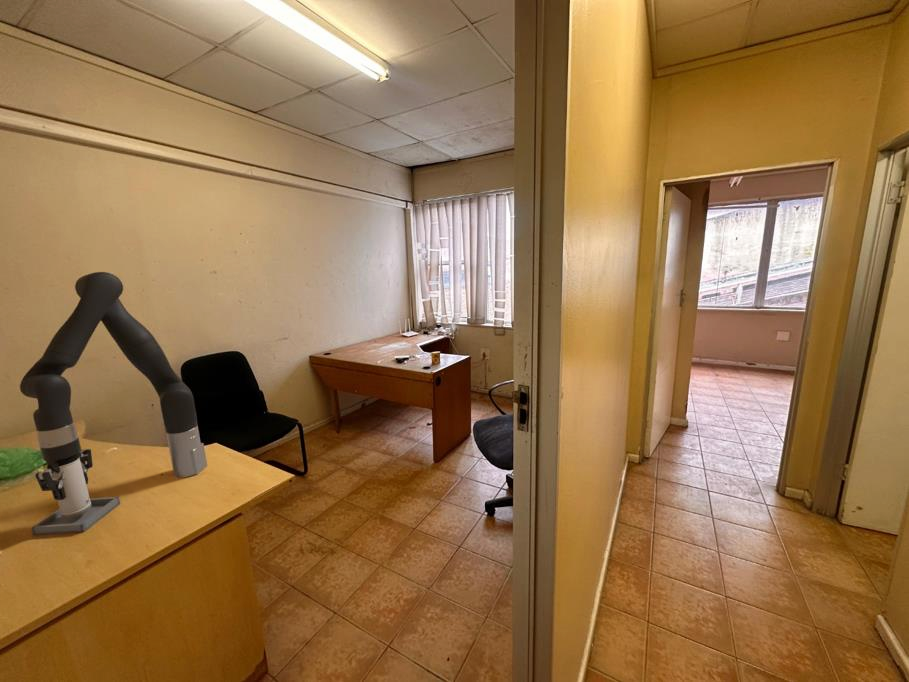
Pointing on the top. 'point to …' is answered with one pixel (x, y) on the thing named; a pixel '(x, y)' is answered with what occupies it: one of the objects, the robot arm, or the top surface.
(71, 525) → the tray
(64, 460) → the travel mug
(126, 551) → the top surface
